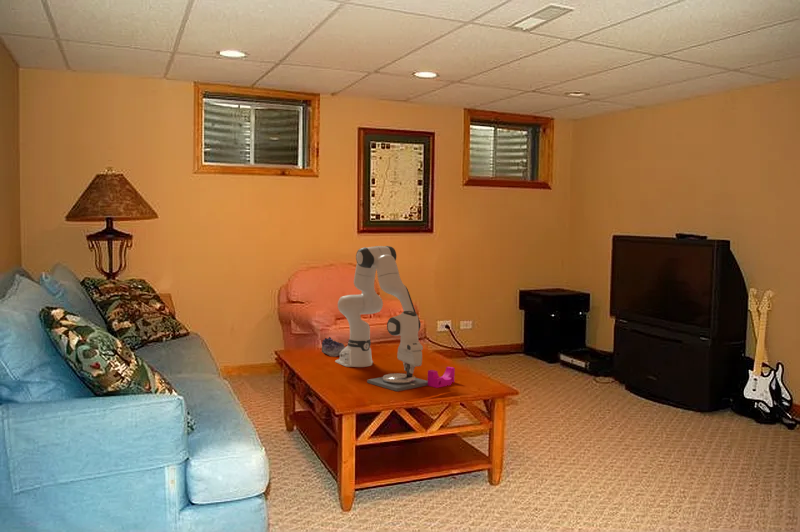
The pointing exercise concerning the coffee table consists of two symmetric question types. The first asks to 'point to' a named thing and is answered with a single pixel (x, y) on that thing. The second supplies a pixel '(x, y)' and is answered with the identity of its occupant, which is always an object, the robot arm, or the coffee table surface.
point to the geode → (332, 347)
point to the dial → (399, 377)
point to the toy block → (441, 378)
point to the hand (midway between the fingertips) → (408, 372)
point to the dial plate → (398, 387)
